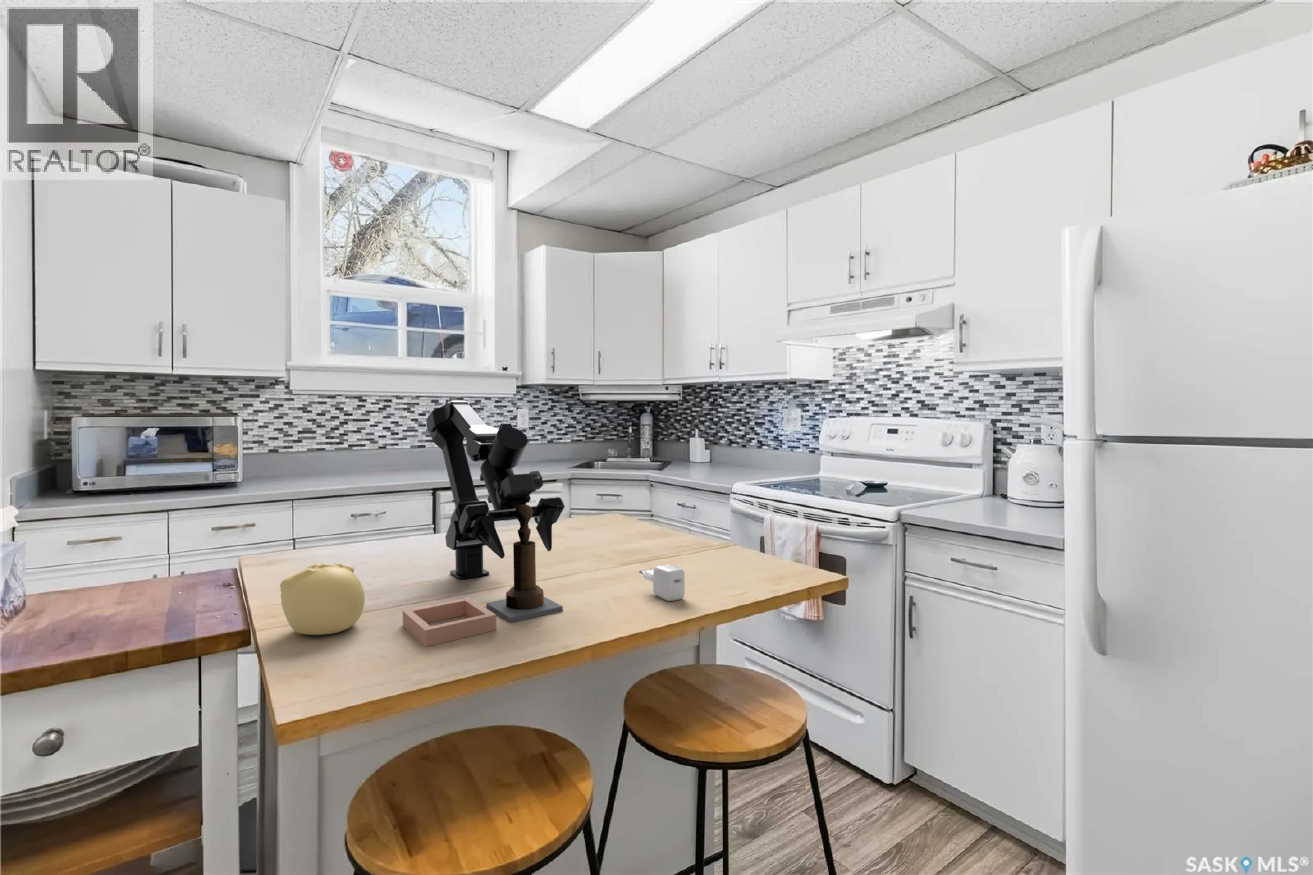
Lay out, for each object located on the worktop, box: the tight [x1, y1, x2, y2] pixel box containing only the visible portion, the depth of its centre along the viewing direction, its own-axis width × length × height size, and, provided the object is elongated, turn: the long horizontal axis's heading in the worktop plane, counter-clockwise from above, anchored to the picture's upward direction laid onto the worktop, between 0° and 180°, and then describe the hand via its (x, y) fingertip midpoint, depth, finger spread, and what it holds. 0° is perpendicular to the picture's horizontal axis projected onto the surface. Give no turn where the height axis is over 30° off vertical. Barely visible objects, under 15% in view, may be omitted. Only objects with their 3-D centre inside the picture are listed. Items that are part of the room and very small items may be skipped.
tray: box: [402, 597, 497, 647], centre depth 104 cm, size 11×11×2 cm
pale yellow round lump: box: [279, 562, 366, 636], centre depth 103 cm, size 11×12×11 cm
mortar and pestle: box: [505, 503, 545, 609], centre depth 113 cm, size 7×6×18 cm
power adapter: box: [638, 563, 686, 602], centre depth 122 cm, size 11×5×6 cm, turn 33°
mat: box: [485, 596, 564, 623], centre depth 113 cm, size 10×10×1 cm
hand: (527, 553), depth 112 cm, fingers open, 9 cm apart
